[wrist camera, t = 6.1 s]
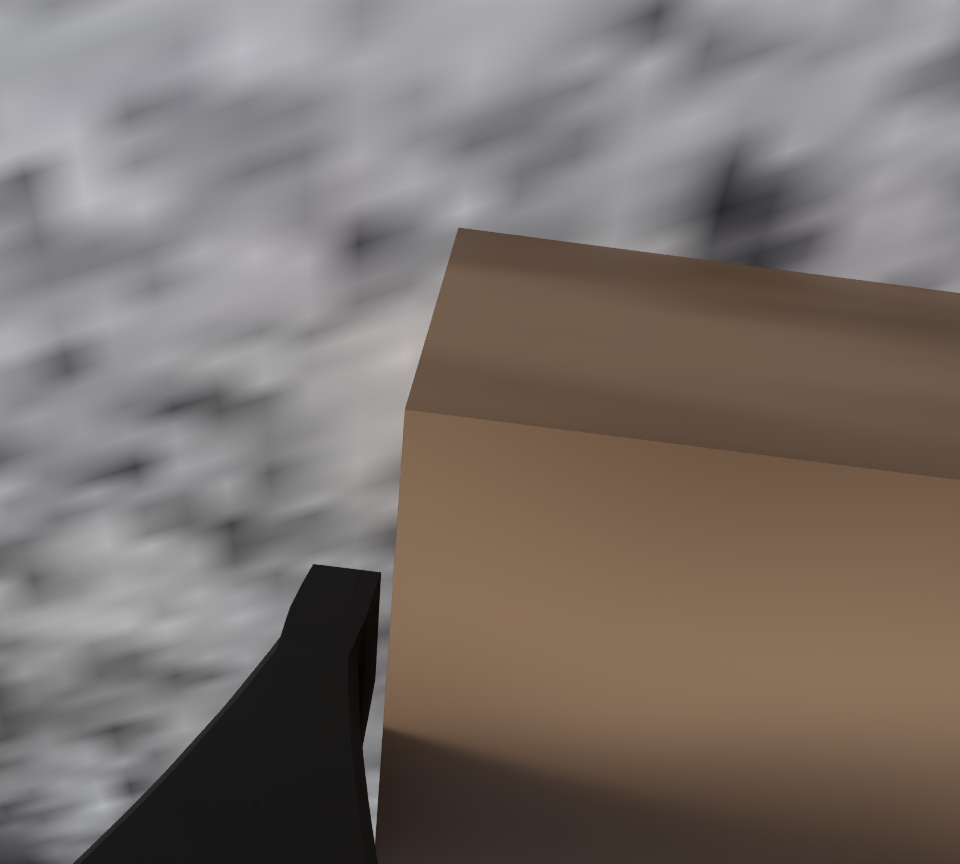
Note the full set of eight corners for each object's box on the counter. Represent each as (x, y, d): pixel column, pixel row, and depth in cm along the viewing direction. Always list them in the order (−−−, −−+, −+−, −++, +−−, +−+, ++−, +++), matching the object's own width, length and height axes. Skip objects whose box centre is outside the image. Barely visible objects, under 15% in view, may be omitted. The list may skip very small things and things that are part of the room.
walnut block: (815, 790, 14) (924, 1090, 10) (408, 740, 14) (362, 1025, 10) (1108, 310, 9) (1566, 557, 5) (459, 226, 9) (405, 408, 5)
